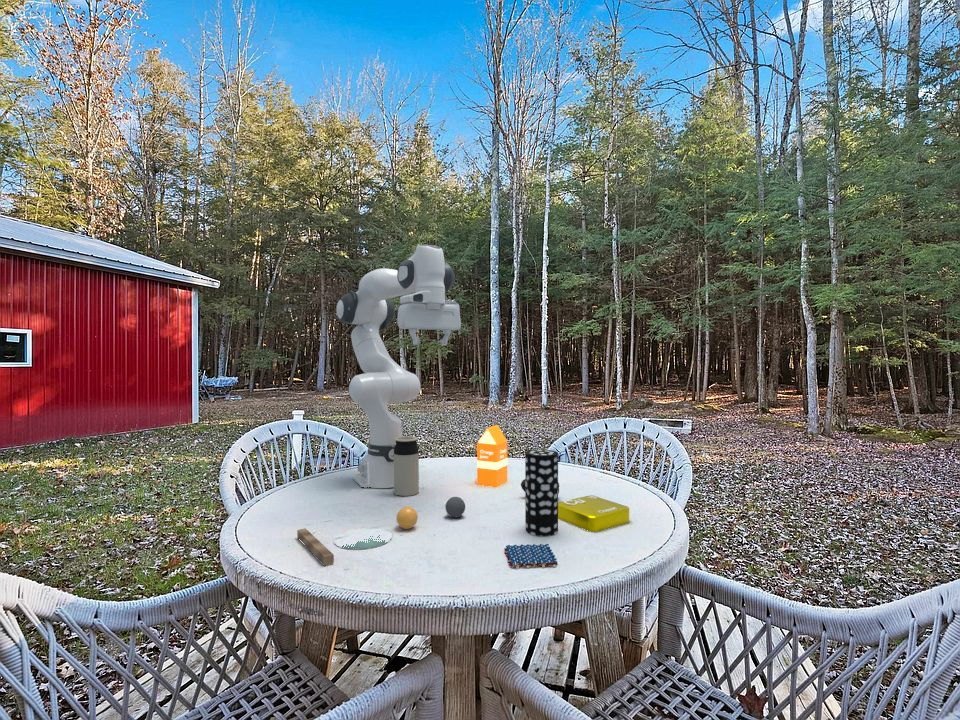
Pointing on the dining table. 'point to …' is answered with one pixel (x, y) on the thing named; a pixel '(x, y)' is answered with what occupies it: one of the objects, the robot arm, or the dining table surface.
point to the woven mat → (530, 556)
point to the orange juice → (492, 458)
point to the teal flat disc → (366, 544)
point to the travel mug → (406, 466)
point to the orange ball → (407, 517)
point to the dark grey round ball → (455, 507)
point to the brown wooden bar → (315, 547)
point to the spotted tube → (541, 492)
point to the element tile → (593, 513)
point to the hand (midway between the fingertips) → (430, 345)
